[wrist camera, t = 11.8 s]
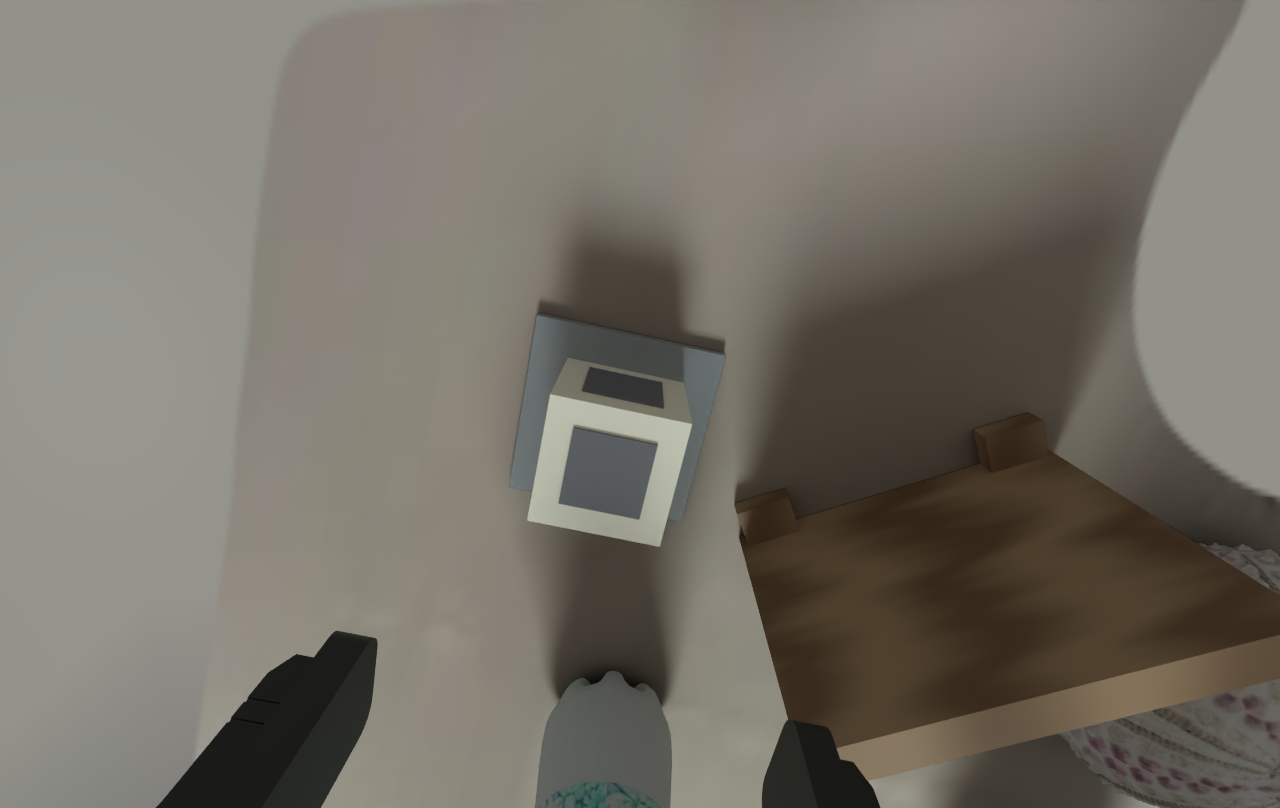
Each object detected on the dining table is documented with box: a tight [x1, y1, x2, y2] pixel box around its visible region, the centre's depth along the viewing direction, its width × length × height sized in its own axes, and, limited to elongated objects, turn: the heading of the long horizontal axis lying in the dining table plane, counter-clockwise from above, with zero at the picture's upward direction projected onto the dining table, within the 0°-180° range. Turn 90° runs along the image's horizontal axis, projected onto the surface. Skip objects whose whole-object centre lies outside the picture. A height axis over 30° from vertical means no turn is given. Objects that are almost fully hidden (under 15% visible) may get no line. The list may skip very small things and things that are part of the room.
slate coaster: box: [509, 313, 726, 521], centre depth 27 cm, size 8×8×1 cm
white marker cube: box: [527, 358, 692, 547], centre depth 24 cm, size 5×5×5 cm
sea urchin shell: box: [1059, 543, 1280, 808], centre depth 27 cm, size 13×14×8 cm
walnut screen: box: [734, 412, 1280, 781], centre depth 23 cm, size 14×5×12 cm, turn 110°
